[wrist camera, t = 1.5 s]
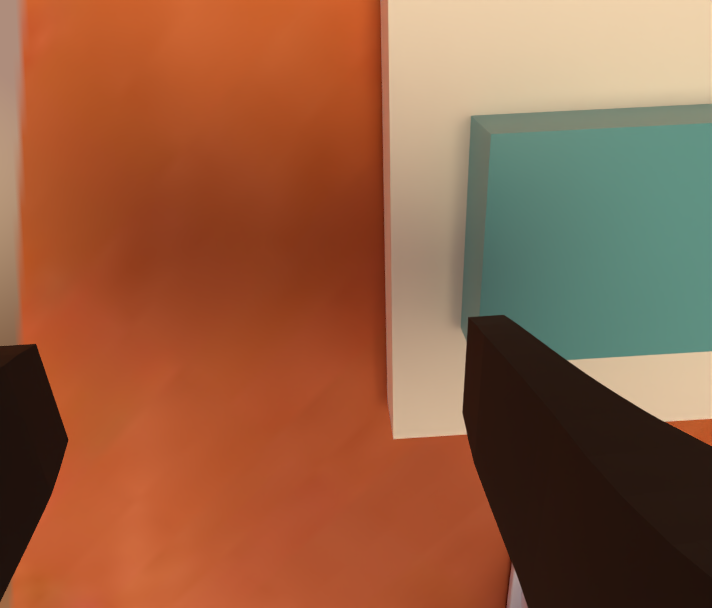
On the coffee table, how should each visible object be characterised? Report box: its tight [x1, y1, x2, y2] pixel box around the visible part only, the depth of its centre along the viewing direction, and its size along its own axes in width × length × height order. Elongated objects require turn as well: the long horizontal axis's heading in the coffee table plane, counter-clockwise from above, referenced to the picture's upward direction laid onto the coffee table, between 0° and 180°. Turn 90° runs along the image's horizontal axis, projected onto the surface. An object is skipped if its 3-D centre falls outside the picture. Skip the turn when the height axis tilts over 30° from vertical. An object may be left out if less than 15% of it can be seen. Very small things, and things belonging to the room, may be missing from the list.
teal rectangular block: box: [461, 104, 712, 360], centre depth 16 cm, size 6×10×2 cm, turn 92°
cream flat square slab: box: [380, 0, 712, 439], centre depth 18 cm, size 14×14×2 cm
